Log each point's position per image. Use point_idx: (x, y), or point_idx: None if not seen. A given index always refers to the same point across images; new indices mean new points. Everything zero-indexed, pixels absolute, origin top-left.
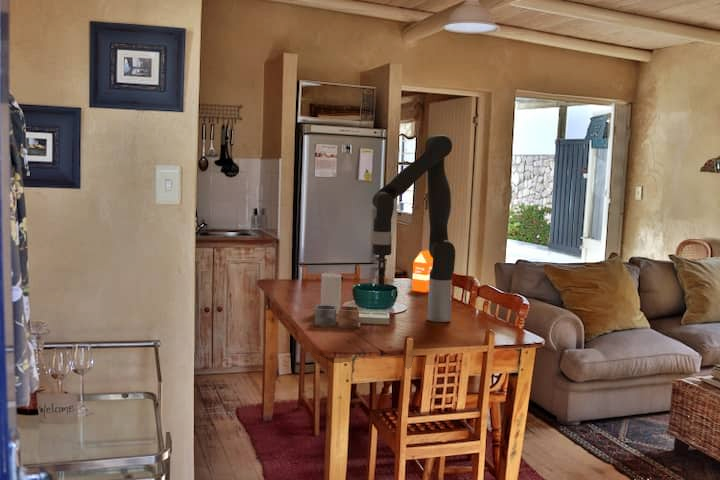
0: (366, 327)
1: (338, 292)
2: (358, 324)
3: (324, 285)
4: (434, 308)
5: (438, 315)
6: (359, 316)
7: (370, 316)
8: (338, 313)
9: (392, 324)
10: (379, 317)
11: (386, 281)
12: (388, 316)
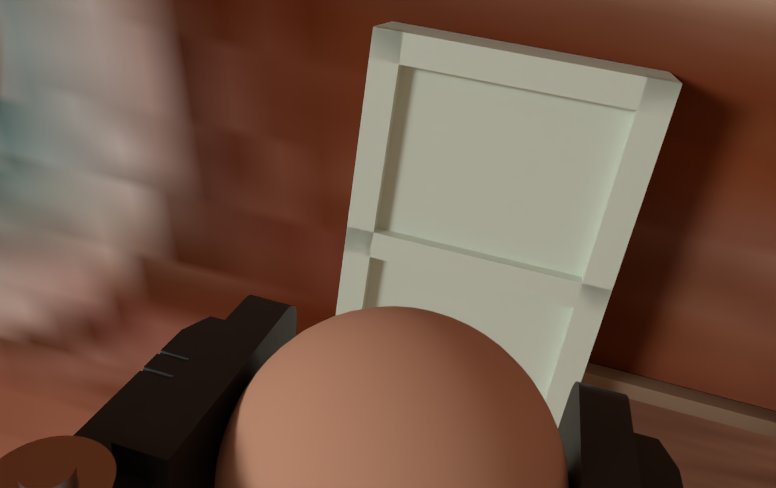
0: (766, 347)
1: None
2: (718, 422)
3: None
4: None
5: None
6: (550, 398)
7: (560, 293)
8: None
9: (670, 30)
10: (621, 205)
11: (490, 354)
12: (574, 77)
